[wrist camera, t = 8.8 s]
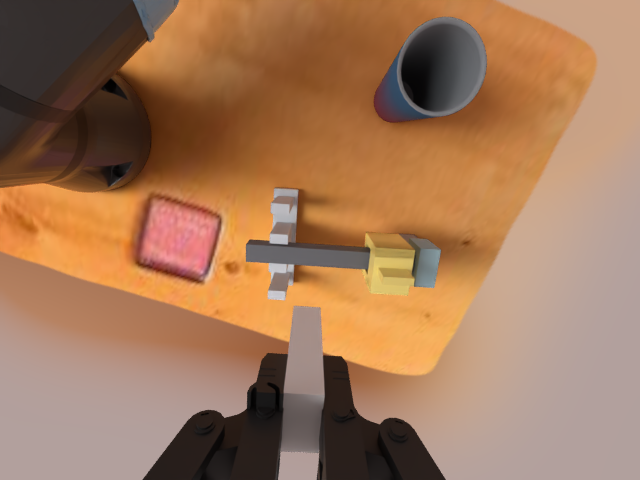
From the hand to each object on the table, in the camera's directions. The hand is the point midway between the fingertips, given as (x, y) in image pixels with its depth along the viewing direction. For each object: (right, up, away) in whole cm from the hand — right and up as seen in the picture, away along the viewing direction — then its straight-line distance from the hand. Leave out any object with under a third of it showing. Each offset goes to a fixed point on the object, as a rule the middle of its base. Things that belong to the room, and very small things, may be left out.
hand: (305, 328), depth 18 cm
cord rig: (+4, +5, +25) cm, 26 cm away
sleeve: (+8, +3, +21) cm, 22 cm away
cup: (+10, +22, +21) cm, 32 cm away
